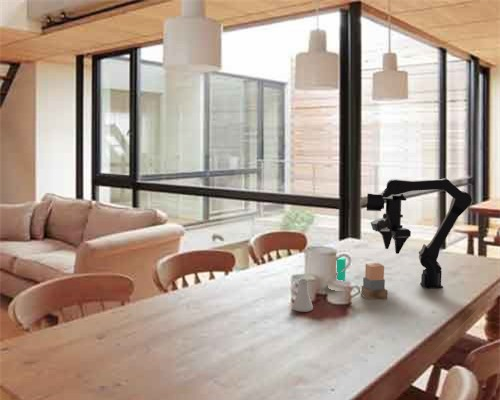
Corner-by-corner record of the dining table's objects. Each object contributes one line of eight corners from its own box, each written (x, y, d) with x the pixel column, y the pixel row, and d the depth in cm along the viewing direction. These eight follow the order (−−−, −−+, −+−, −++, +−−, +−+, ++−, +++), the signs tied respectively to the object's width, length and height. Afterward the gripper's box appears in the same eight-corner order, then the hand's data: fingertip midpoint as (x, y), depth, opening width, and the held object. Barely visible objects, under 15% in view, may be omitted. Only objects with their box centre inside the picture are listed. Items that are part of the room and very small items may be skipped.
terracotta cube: (378, 276, 198) (378, 263, 198) (383, 279, 193) (384, 266, 193) (365, 276, 198) (365, 263, 197) (370, 280, 193) (370, 266, 192)
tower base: (379, 294, 200) (379, 285, 200) (387, 299, 193) (387, 290, 193) (361, 295, 199) (361, 285, 199) (368, 300, 192) (368, 291, 192)
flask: (288, 310, 180) (288, 281, 179) (296, 304, 186) (297, 276, 185) (308, 313, 177) (309, 283, 176) (316, 307, 183) (317, 278, 182)
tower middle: (376, 285, 199) (376, 276, 199) (384, 289, 194) (384, 279, 194) (363, 286, 198) (363, 277, 197) (370, 290, 193) (371, 280, 192)
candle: (346, 286, 210) (347, 255, 208) (330, 286, 210) (331, 255, 208) (343, 282, 216) (344, 252, 214) (328, 282, 216) (329, 252, 214)
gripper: (364, 208, 218) (363, 247, 220) (384, 215, 200) (382, 257, 202) (390, 208, 220) (388, 246, 222) (412, 214, 202) (410, 256, 204)
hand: (391, 251), depth 212 cm, fingers open, 9 cm apart
